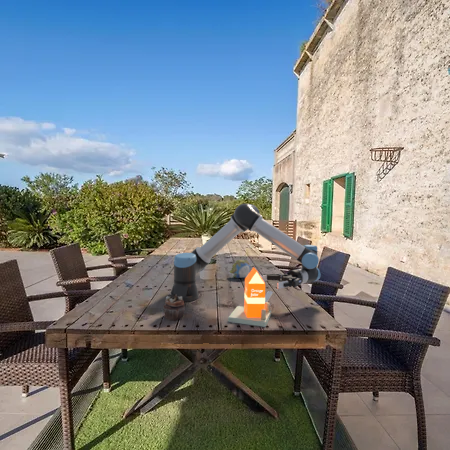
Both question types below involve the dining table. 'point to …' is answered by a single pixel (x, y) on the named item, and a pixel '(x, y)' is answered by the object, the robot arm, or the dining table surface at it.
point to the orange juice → (254, 294)
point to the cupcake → (174, 307)
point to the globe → (240, 269)
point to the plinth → (241, 317)
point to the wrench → (268, 296)
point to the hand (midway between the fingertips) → (266, 282)
